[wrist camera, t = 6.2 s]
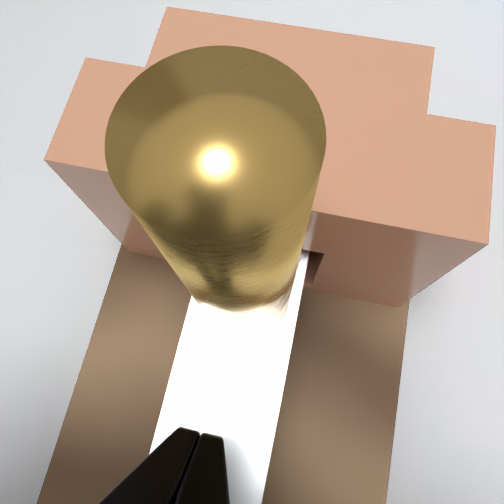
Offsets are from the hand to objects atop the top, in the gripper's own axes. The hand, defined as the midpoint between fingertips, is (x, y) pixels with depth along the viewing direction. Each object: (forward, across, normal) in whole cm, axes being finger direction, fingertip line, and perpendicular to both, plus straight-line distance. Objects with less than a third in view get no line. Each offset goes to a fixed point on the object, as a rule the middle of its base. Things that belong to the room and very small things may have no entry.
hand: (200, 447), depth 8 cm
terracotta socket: (+11, 0, 0) cm, 11 cm away
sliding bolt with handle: (+5, 0, +4) cm, 7 cm away
